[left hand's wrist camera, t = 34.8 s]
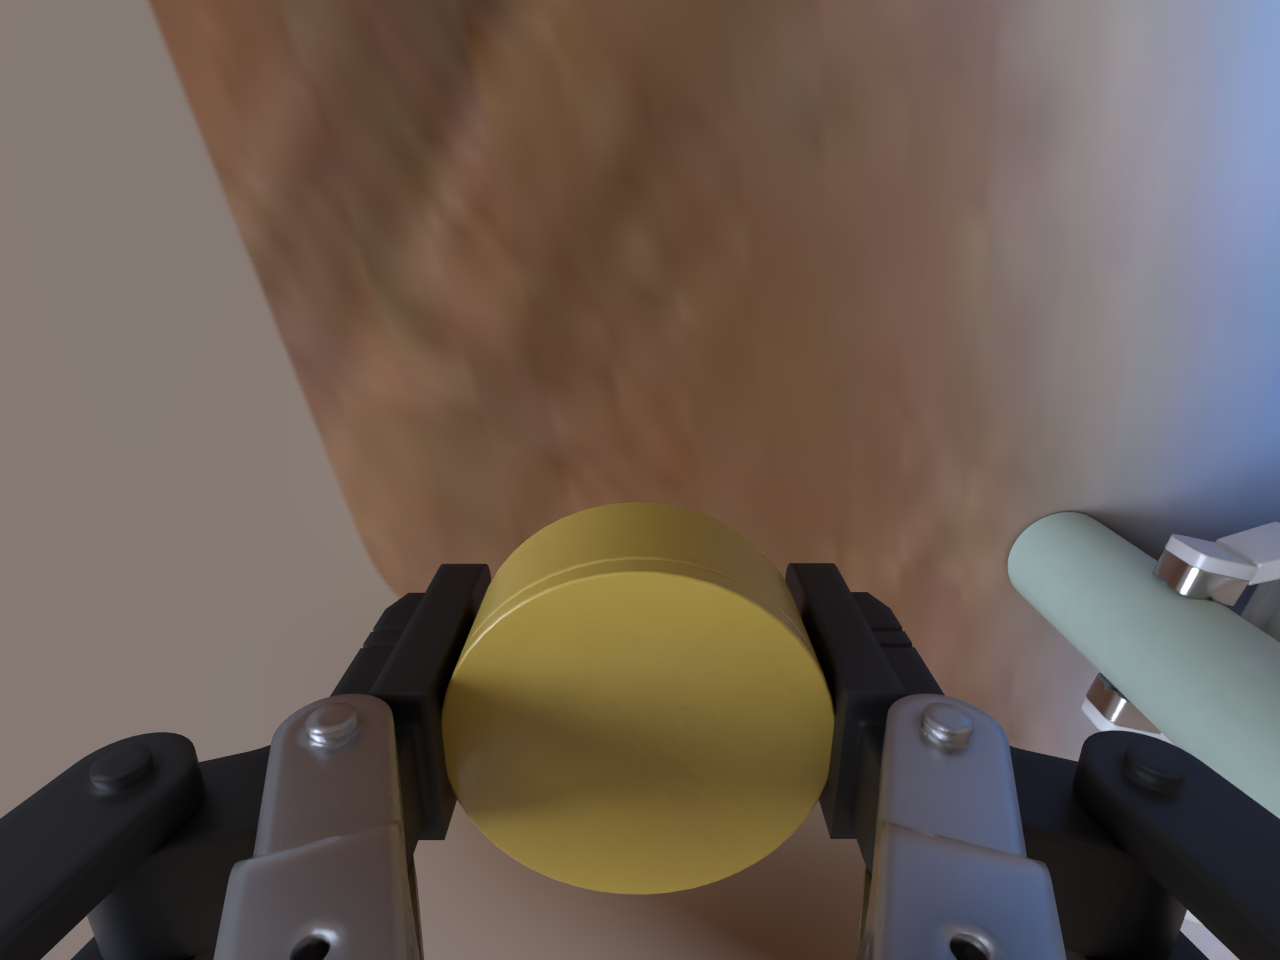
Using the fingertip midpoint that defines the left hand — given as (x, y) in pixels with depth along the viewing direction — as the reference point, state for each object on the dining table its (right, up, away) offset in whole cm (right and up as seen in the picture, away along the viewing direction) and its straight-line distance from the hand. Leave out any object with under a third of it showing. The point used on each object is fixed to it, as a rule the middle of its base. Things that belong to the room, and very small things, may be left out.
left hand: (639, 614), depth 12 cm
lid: (0, -1, -3) cm, 3 cm away
